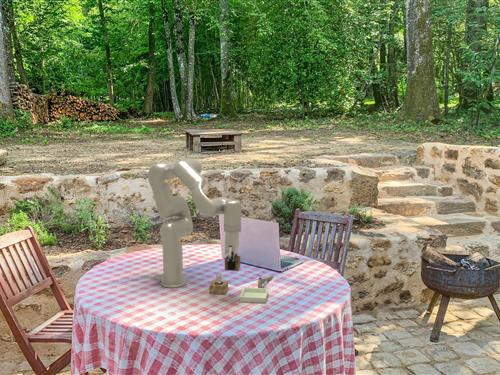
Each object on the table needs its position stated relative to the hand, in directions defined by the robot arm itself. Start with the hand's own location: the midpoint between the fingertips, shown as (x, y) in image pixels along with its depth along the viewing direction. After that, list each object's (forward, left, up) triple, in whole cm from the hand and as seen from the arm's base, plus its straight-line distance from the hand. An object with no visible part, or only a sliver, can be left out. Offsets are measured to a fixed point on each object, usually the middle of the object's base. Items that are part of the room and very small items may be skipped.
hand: (232, 266), depth 221 cm
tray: (+9, +4, -16) cm, 18 cm away
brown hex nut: (-8, +10, -16) cm, 20 cm away
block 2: (0, 0, -1) cm, 1 cm away
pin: (-8, +10, -16) cm, 20 cm away
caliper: (+13, +23, -16) cm, 31 cm away
